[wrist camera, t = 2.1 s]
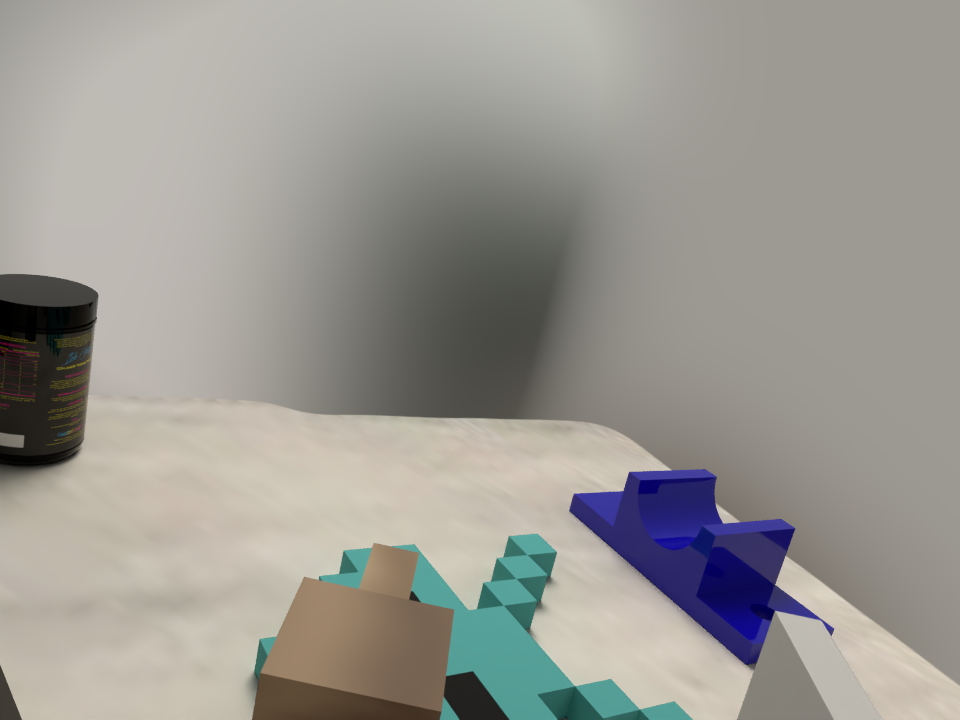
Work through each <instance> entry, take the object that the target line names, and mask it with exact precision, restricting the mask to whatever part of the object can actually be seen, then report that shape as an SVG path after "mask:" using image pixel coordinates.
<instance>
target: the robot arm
mask: <svg viewBox="0 0 960 720" xmlns="http://www.w3.org/2000/svg"><path fill="white" fill-rule="evenodd" d="M737 720H883V719H882V717H881V716H880V714H879V712H878V711H877V709H876V708H875V706H874V704H873V703H872V701H871V700H870V698H869V696H868V695H867V693H866V692H865V690H864V688H863V687H862V685H861V684H860V682H859V680H858V679H857V677H856V676H855V674H854V672H853V671H852V669H851V667H850V666H849V664H848V663H847V661H846V659H845V658H844V656H843V655H842V653H841V651H840V650H839V648H838V647H837V645H836V643H835V642H834V640H833V639H832V637H831V635H830V634H829V632H828V631H827V629H826V627H825V626H824V624H823V622H822V621H821V620H816V619H812V618H807V617H802V616H797V615H793V614H788V613H783V612H779V611H775V612H774V615H773V618H772V621H771V624H770V627H769V630H768V633H767V635H766V638H765V641H764V644H763V647H762V650H761V653H760V655H759V658H758V661H757V664H756V667H755V670H754V673H753V676H752V678H751V681H750V684H749V687H748V690H747V693H746V696H745V698H744V701H743V704H742V707H741V710H740V713H739V716H738V719H737Z"/></svg>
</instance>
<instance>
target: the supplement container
mask: <svg viewBox="0 0 960 720" xmlns="http://www.w3.org/2000/svg"><path fill="white" fill-rule="evenodd" d="M97 305H98V293H97V292H96V291H94V290H93V289H92V288H90V287H88V286H86V285H83V284H80V283H77V282H73V281H69V280H65V279H60V278H55V277H48V276H40V275H26V274H6V275H5V274H4V275H0V463H5V464H12V465H41V464H48V463H53V462H57V461H60V460H63V459H65V458H67V457H69V456H71V455H72V454H73V453H75V452H76V451H77V450H78V449H79V448H80V446H81V444H82V443H83V441H84V434H85V423H86V413H87V403H88V391H89V382H90V372H91V360H92V351H93V340H94V330H95V323H96V321H97V316H96V315H97Z"/></svg>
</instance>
